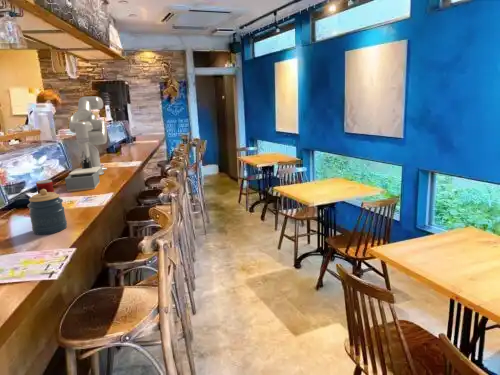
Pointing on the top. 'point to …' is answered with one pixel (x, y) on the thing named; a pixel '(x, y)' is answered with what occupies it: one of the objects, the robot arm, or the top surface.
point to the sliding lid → (85, 169)
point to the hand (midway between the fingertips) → (87, 167)
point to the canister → (47, 213)
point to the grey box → (82, 181)
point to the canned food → (45, 185)
